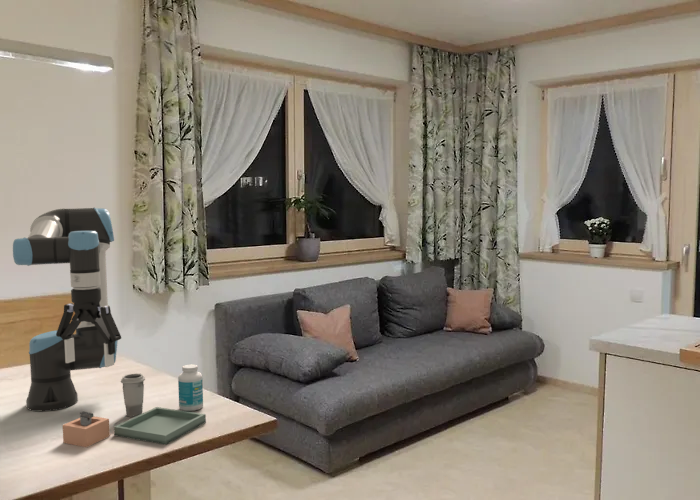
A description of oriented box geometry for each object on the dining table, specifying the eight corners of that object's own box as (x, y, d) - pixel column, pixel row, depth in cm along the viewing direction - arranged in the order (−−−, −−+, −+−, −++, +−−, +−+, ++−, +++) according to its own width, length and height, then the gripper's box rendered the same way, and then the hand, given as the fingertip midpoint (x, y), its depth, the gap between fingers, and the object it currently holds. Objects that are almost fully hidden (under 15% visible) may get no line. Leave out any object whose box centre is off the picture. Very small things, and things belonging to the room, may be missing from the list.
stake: (79, 440, 176) (77, 414, 175) (86, 436, 179) (85, 410, 178) (89, 442, 175) (87, 415, 174) (96, 438, 177) (95, 412, 176)
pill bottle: (197, 412, 197) (195, 369, 196) (174, 411, 199) (173, 368, 198) (207, 404, 205) (205, 363, 203) (185, 403, 206) (184, 362, 205)
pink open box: (63, 442, 175) (62, 425, 174) (91, 430, 184) (90, 413, 183) (86, 447, 171) (85, 429, 171) (114, 434, 180) (113, 416, 180)
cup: (123, 419, 192) (122, 380, 191) (120, 412, 198) (119, 375, 197) (148, 415, 195) (146, 377, 194) (144, 409, 201) (142, 371, 200)
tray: (114, 435, 179) (113, 426, 179) (157, 414, 196) (156, 406, 196) (165, 444, 172) (165, 435, 172) (205, 422, 189) (205, 414, 189)
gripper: (39, 287, 175) (43, 363, 177) (113, 291, 166) (116, 371, 168) (60, 283, 182) (64, 357, 184) (132, 287, 173) (135, 364, 175)
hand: (89, 364), depth 176 cm, fingers open, 13 cm apart
